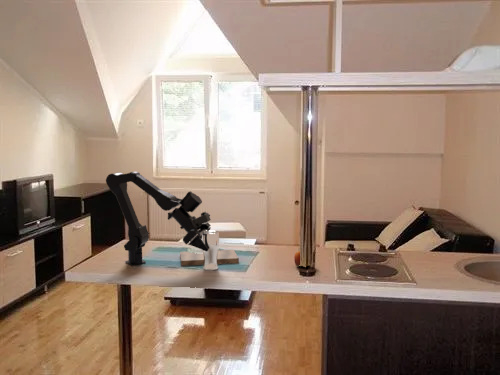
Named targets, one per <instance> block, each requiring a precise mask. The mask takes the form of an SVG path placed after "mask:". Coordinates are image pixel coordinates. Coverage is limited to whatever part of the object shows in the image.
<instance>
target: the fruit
mask: <svg viewBox="0 0 500 375" xmlns="http://www.w3.org/2000/svg"><path fill="white" fill-rule="evenodd" d="M300 251H301V250H299V251H295V253H294V257H293V258H294V259H293V260H294V264H295V266H296V268H300V267H299V265H300Z"/></svg>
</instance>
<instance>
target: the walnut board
mask: <svg viewBox="0 0 500 375" xmlns="http://www.w3.org/2000/svg"><path fill="white" fill-rule="evenodd" d="M179 255H180V256H179V258H180V265H181V266H198V265H199V266H200V265H202V266H203V265H204V255H203V254H197V253H196V254H195V253H189V251H179ZM217 263H218V265H220V264H239V263H240V258H239V256H238V255H237V253H236V251H235V249H219V250H218V256H217Z"/></svg>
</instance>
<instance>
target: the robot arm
mask: <svg viewBox="0 0 500 375" xmlns="http://www.w3.org/2000/svg"><path fill="white" fill-rule="evenodd" d="M105 183H106V185H107V187H108V188H109V190H110V191H111V192H112V194H114V195H115V197H116V199H117V202H118V204H119V207H120V210H121V212H122V215H123V217H124V220H125V223H126V225H127V228H128V229H127V236H128V241H126V243H125V244H123V248H124V250H125V251H127V256H128V257H127V259H128V260H124V261H125V263H126V264H128V265H130V266H136V265H142V264H146V263H147V262H146V261H145V260H143V248H144V247H145V246H146V244H147V243H148V242H149V240H150V236H149V235H150V232H149V231H148V228H147V226H146V225H142V224H141V223H140V220H139V219H138V216H137V214H136V211H135V208H134V206H133V204H132V200H131V199H130V196H129V194H128V183H133V184H134V185H136V186H137V187H138V188H140V189H141V190H142V191H143V192H145V193H146V194H147V195H149V196H150V197H151V198H152V199H153V200H154V201H155V202H156V204H157V205H158V207H159V208H160V209H161V210H163V211H166V212H167V211H169V212H167V220H168V221H169V220H172V219H174V220H175V221H176V223H178V224H179V226H180V227H179V228H180V229H181V230H185V232H186V234H185V235H184V236H183V237H182V242H183V243H184V245H188V246H192V247H194V248H197V249H200V250H201V251H203V250H204V251H208V248H207V246H206V245H205V244H204V242H203V241H202V232H203V231H209V230H211V229H212V227H211V226H212V225H211V224H210V223H209V221H211V220H212V219H211V214H210V213H209V212H206V211H203V212H201V213H200V216H198V217H196V216H195V215H194V216H193V215H191V214H190V213H193V212H195V210H196V209H197V208H199V206H201V204H203V200H202V198H201V197H200V196H199V195H197V194H195V193H193V192H192V191H190V190H189V191H188V192H187V193H186V194H185V196H184V197H183V198H178V197H177V196H176V195H173V194H172V193H170V192H167V191H165V190H162V189H160V188H159V187H158V186H157V185H155V184H154V183H152V181H150V180H149V179H148V178H145V176H143V175H142V174H141V173H140V172H138V171H131V172H128V173H122V172H114V173H113V172H112V173H109V174H108V175H107V176H106V179H105ZM171 210H172V211H171Z"/></svg>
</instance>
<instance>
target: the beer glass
mask: <svg viewBox="0 0 500 375" xmlns="http://www.w3.org/2000/svg"><path fill="white" fill-rule="evenodd" d="M219 234H220V233H219V231H218V230H211V229H210V230H209V231H203V232H202V239H201V240H202V241H203V242H204V244H205V245H206V246H207V248H208V251H204V250H202V251H203V255H204V264H203V265H202V266H203V267H202V269H203V270H205V271H215V270H218V269H219V264H218V263H217V256H218V250H220V235H219Z"/></svg>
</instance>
